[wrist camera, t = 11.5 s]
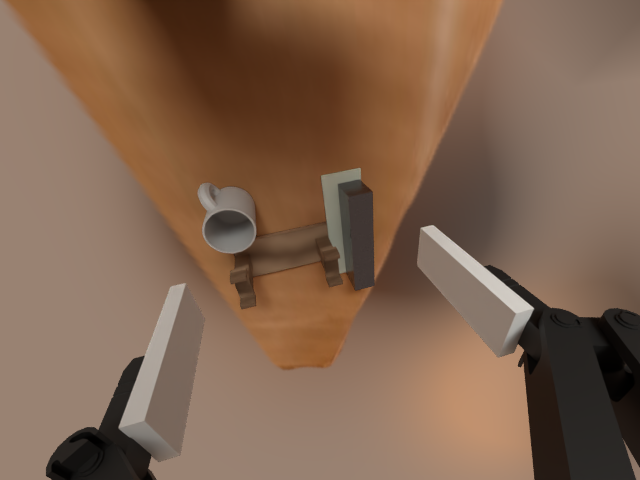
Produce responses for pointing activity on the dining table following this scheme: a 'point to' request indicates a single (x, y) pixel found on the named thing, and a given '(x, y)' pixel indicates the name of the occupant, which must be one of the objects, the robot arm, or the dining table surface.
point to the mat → (336, 208)
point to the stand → (284, 257)
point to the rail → (357, 232)
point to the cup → (228, 218)
